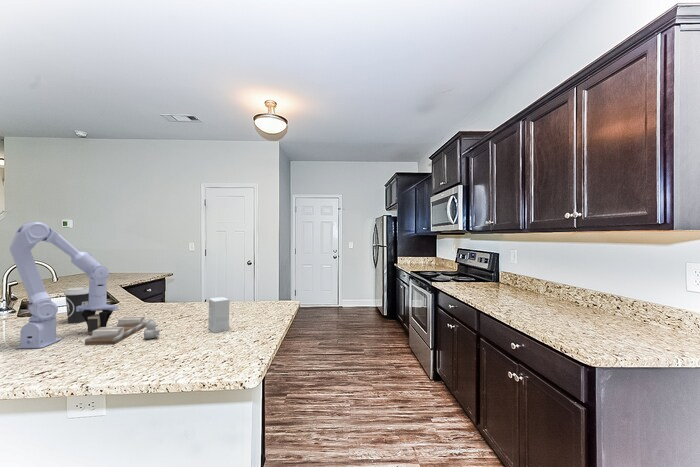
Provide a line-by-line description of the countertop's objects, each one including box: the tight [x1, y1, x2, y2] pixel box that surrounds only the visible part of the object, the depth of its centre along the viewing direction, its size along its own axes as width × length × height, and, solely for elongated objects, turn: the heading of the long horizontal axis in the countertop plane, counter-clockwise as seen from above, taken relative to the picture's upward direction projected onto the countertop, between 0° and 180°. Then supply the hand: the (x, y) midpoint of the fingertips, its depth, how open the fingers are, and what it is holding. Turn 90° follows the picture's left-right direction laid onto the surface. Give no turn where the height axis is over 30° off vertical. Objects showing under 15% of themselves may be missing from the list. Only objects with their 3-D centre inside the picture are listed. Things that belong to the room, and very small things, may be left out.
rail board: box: [84, 315, 150, 346], centre depth 129 cm, size 26×10×4 cm, turn 7°
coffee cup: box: [63, 286, 89, 324], centre depth 146 cm, size 10×10×15 cm
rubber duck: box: [143, 317, 161, 340], centre depth 124 cm, size 5×7×8 cm
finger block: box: [87, 313, 101, 336], centre depth 130 cm, size 6×4×7 cm
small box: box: [207, 296, 230, 333], centre depth 137 cm, size 8×6×13 cm
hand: (97, 328), depth 130 cm, fingers closed on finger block, 4 cm apart
